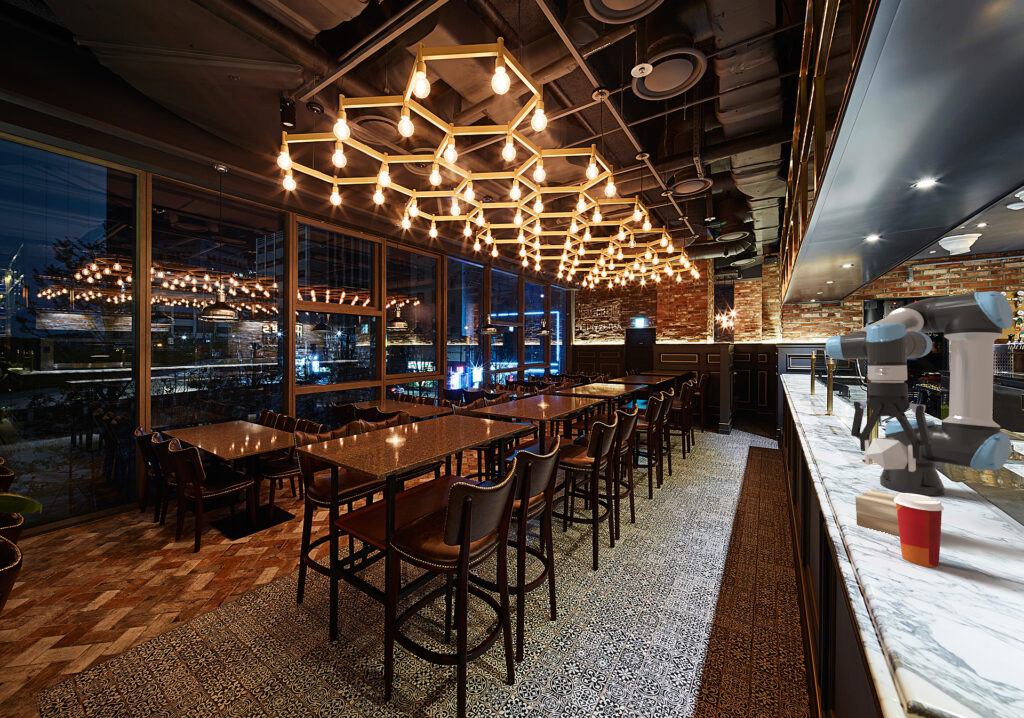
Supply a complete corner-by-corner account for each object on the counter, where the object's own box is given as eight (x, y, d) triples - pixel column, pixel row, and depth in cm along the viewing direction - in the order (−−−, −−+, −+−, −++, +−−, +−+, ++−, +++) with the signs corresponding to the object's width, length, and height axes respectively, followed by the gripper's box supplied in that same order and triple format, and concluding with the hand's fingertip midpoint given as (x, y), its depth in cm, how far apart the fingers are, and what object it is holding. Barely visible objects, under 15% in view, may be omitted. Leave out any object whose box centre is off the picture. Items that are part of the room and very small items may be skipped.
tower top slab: (873, 503, 109) (872, 489, 109) (928, 517, 99) (927, 501, 99) (856, 511, 104) (855, 497, 104) (912, 526, 94) (912, 510, 94)
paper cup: (930, 554, 87) (928, 493, 87) (956, 572, 80) (953, 506, 80) (886, 550, 90) (885, 490, 90) (908, 567, 83) (906, 502, 83)
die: (917, 476, 96) (924, 443, 99) (881, 459, 97) (889, 426, 100) (888, 479, 103) (895, 447, 106) (855, 462, 105) (863, 432, 108)
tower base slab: (871, 517, 109) (870, 503, 109) (927, 531, 100) (926, 516, 100) (856, 527, 103) (856, 512, 103) (914, 543, 94) (914, 526, 94)
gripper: (833, 380, 108) (836, 461, 108) (940, 383, 91) (943, 479, 91) (843, 379, 112) (846, 457, 112) (948, 382, 95) (951, 473, 95)
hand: (889, 466), depth 102 cm, fingers closed on die, 8 cm apart
